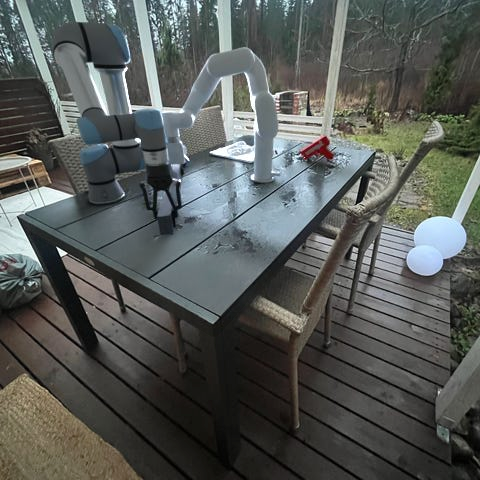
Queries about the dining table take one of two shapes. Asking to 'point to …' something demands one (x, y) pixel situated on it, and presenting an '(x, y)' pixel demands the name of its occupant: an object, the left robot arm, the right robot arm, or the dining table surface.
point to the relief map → (237, 152)
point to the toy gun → (318, 149)
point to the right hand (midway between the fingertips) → (177, 175)
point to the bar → (168, 204)
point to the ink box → (185, 153)
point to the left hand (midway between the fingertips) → (167, 225)
